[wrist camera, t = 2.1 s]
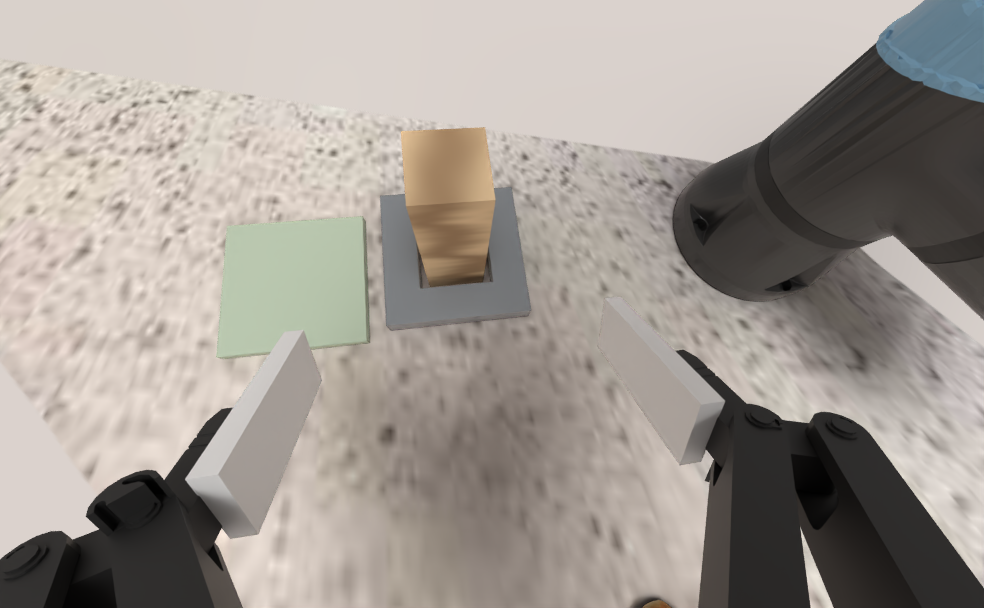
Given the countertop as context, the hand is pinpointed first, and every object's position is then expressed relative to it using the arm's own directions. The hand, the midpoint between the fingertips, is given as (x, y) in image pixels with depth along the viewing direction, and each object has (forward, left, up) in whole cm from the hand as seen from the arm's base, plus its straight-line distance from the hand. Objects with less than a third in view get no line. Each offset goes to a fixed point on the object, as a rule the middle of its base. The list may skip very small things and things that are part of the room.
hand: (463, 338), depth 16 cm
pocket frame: (+7, -7, -16) cm, 19 cm away
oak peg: (+7, -7, -16) cm, 19 cm away
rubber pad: (+16, +4, -16) cm, 23 cm away
